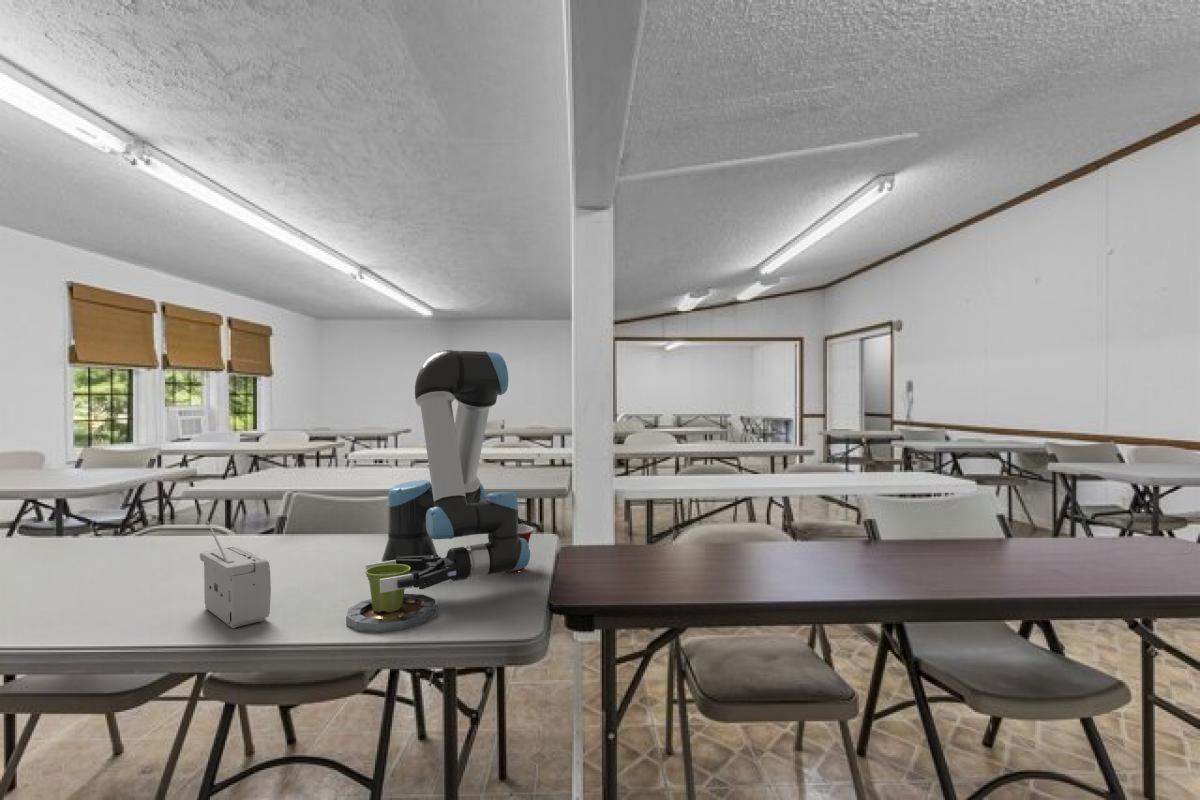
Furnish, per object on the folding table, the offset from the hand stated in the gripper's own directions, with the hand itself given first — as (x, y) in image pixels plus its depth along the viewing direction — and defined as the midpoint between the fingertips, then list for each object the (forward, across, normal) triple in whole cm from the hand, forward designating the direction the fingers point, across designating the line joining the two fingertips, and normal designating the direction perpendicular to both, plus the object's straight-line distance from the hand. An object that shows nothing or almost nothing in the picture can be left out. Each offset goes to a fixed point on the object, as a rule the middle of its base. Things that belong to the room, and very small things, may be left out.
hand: (372, 578), depth 127 cm
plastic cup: (-40, +13, -8) cm, 43 cm away
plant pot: (-3, 0, -8) cm, 8 cm away
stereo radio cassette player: (+25, +18, -8) cm, 32 cm away
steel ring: (-3, -3, -8) cm, 9 cm away
